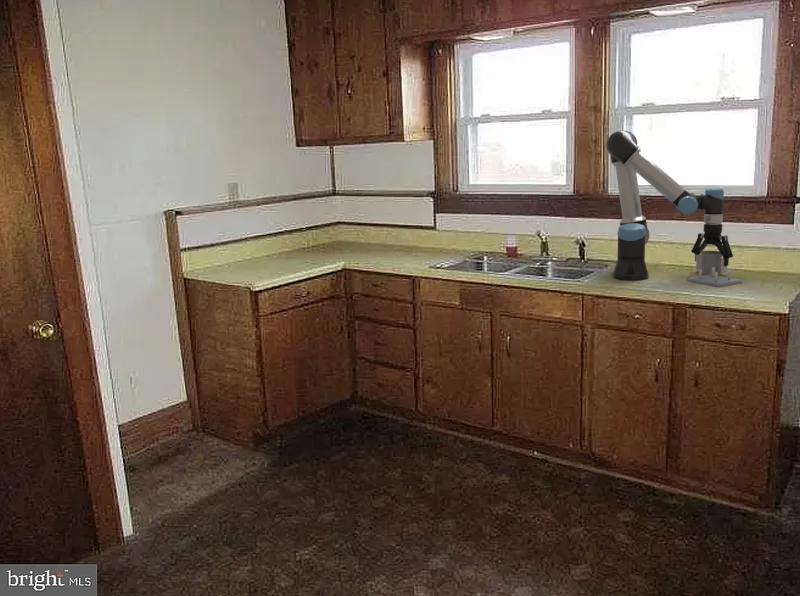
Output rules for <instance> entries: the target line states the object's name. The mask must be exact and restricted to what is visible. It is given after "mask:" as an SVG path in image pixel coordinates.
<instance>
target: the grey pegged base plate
mask: <svg viewBox="0 0 800 596" xmlns="http://www.w3.org/2000/svg"><path fill="white" fill-rule="evenodd" d="M731 276H732V270H731V269H727V276H723V275H722V276H721V275H720V276H718V272H715V267H712V275H711V274H709V275H702V270H701V269H698V276H692V277H688V278H686V279H687V280H686V281H687V282H690V283H695V284H701V285H707V286H711V287H716V288H721V287H726V286H727V287H728V286H731V285H737V284H742V283H743V280H742V279H739V278H734V277H731Z"/></svg>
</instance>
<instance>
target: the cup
mask: <svg viewBox="0 0 800 596" xmlns="http://www.w3.org/2000/svg"><path fill="white" fill-rule="evenodd" d="M722 258H723V256H722V255H721V253H720V252H719V250H703V251H702V252H701V270H702V276H703V275H709V274H711V275H712V267H715V272H718V276H721V275H722V273H721V263H722Z"/></svg>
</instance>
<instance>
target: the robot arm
mask: <svg viewBox="0 0 800 596" xmlns="http://www.w3.org/2000/svg"><path fill="white" fill-rule="evenodd" d="M605 145H606V146H605V147H606V151H607V153H608V155H609V156H610V162H611V165H613V166H614V167H615V172H616V173H615V174H616V179H617V187H618V194H619V203H620V209H621V217H622V219H621V220H620V221H619V227H618V230H617V260H616V262H615V266H614V270H613V272H612V277H613V278H614V279H617V280H625V281H640V280H646V279H648V278H649V271H648V268H647V263H646V244H648V242H649V239H650V231H649V228H648V224H647V223H648V222H647V217H646V216H644V215H643V212H642V206H641V205H642V203H641V198H640V197H641V196H640V191H639V182H638V175H639V176H640V177H642V179H644V180H645V181H646V183H648V184H649V185H651V187H653V188H654V189H655V190H657V192H659V193H660V194H661V195H662V196H664V197H665V198H666V199H667V200H668V201H669V202H670V203H672V204H673V206H675V210H676V211H679V212H681V213H682V214H684V215H691V214H693V213H695V212H696V211H704V212H703V214H704V215H703V217H704V218H703V223H704V224H703V232H701V233H700V232H699V233H697V238H696V240H695V242H694V245H693V247H692V248H691V250H690V251H691V253H692V254H694V261H695V270H699V269H701V252H702V251H705V249H706V248H707V246H708V245H711V246H715V247H716V248H717V249H718V250H717V251H719V252H720V253H721V255H722V262H721V275H722V274H723V275H724V274H728V266H729V263H730V262H729V259H731V258H733V257H734V254H733V251H732V248H731V246H730V243H729V237H728V235H727V234H726V235H723V236H722V232H723V224H722V223H723V221H724V219H723V218H724V202H725V200H724V199H725V195H724V194H725V193H724V188H721V187H710V188H709V187H708V188H705V191H704V192H688V191H687V190H686V189H685V188H684V187H683V186H682V185H680V184H679V183H678V182H677V181H676V180H674V179H673V178H672V177H671V175H669V174H667V172H665V171H664V170H663V169H662V168H660V167H659V166H658V165H657V164H656V163H655V162H653V161H652V160H651V159H650V158H648V156H646V155H645V154H644V153H643V152H642V151H641V147H640V146H638V140H637V137H636V135H635V134H634V133H632V132H631V131H629V130H619V131H618V130H617V131H615V132H613V133H611V134H610V135H609V136H608V138H607V140H606V144H605ZM637 174H638V175H637Z"/></svg>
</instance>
